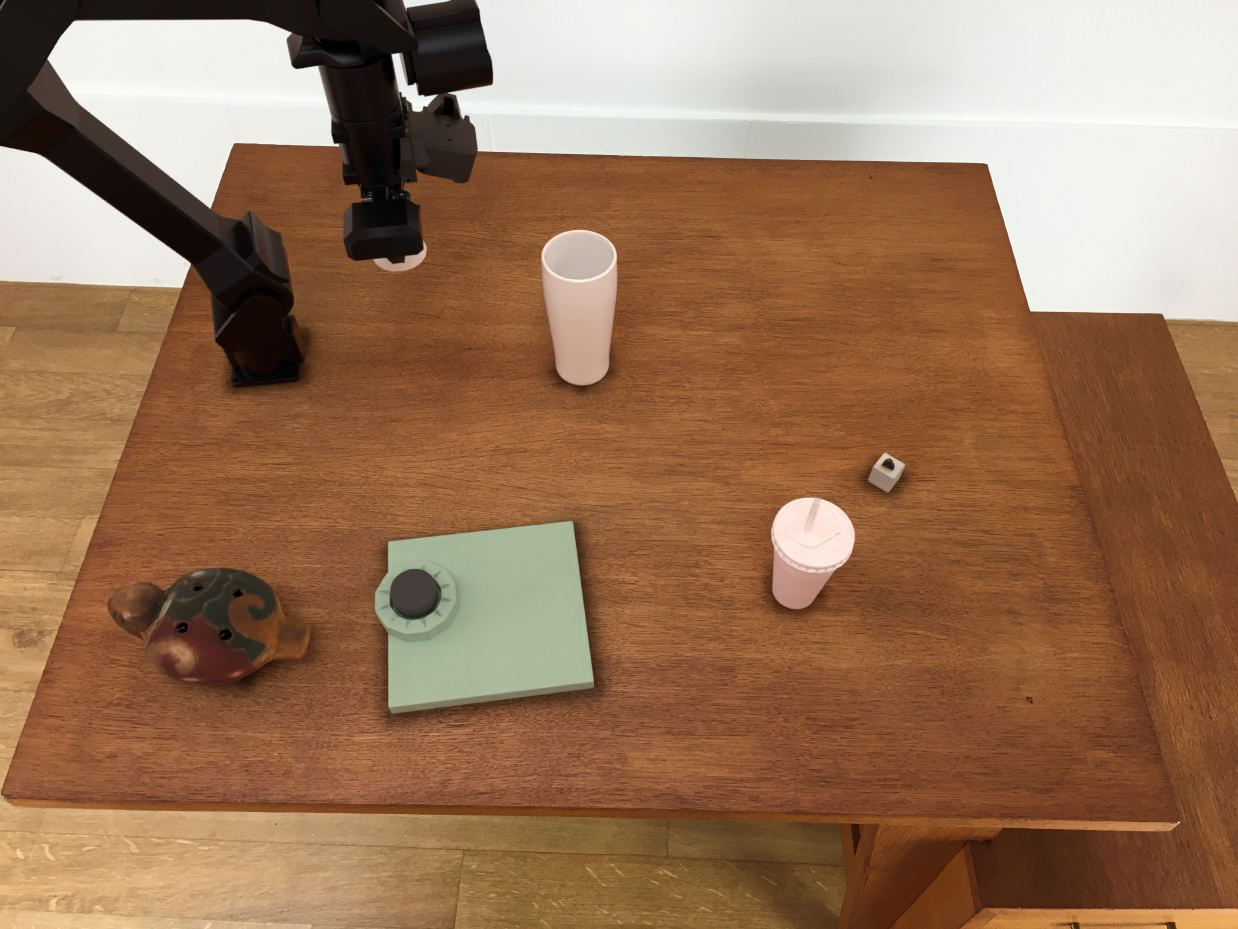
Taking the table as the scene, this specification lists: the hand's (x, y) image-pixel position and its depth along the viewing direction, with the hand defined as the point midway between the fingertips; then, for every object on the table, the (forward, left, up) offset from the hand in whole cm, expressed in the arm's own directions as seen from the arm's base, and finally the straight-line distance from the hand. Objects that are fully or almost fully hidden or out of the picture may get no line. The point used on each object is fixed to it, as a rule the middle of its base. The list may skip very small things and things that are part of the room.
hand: (398, 248), depth 90 cm
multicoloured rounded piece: (-16, -34, -11) cm, 39 cm away
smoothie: (+31, -35, -11) cm, 48 cm away
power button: (0, -33, -8) cm, 34 cm away
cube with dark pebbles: (+42, -25, -11) cm, 50 cm away
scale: (+5, -34, -11) cm, 36 cm away
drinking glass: (+16, -8, -11) cm, 21 cm away
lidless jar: (0, 0, -1) cm, 1 cm away
